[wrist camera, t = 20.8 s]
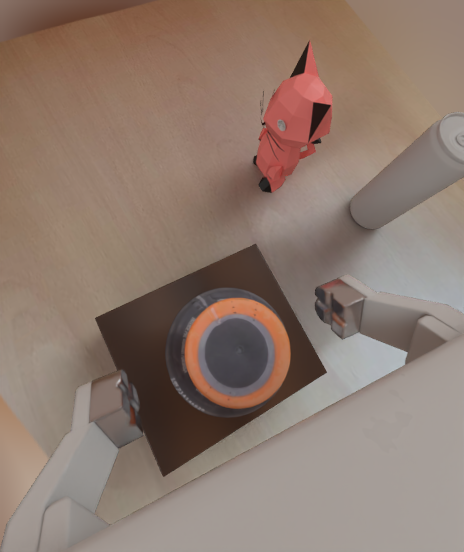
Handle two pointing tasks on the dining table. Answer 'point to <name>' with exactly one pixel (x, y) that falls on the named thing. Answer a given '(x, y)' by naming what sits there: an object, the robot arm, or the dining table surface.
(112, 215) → the dining table surface
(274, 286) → the shelf
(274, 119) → the cat figurine
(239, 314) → the pill bottle
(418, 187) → the beverage can
